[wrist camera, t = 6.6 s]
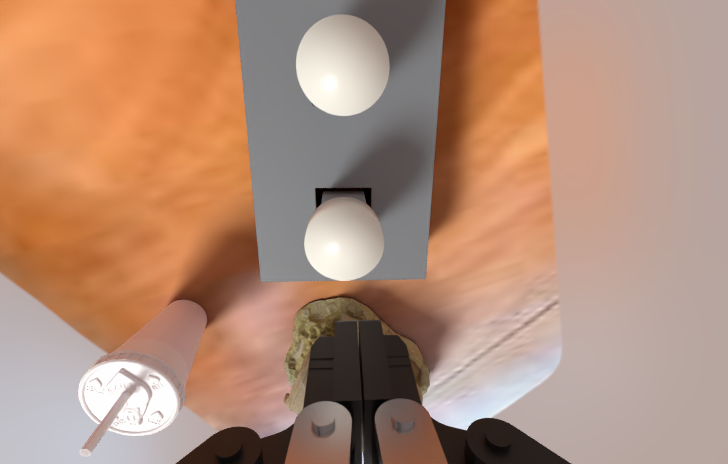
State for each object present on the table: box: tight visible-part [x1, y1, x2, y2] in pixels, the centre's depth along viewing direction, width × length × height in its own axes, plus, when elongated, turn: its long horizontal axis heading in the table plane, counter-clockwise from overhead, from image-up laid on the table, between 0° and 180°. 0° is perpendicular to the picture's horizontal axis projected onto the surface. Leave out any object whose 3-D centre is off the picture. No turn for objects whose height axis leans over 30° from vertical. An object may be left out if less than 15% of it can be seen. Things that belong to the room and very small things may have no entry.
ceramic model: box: [284, 297, 430, 452], centre depth 32 cm, size 14×11×10 cm
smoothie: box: [78, 300, 207, 456], centre depth 27 cm, size 6×6×14 cm
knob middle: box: [296, 14, 390, 116], centre depth 21 cm, size 4×4×7 cm
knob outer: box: [304, 191, 384, 281], centre depth 24 cm, size 4×4×7 cm
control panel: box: [235, 0, 446, 282], centre depth 26 cm, size 28×12×5 cm, turn 179°
